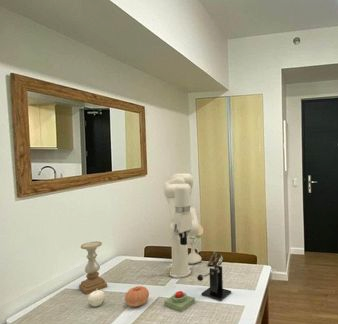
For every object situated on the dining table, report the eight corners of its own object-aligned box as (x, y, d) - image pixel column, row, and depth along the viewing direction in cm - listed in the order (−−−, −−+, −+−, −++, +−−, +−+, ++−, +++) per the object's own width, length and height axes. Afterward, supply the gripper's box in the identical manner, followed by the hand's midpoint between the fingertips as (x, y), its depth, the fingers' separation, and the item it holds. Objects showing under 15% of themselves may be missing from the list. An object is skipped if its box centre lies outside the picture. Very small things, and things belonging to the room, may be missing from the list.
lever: (197, 282, 144) (195, 276, 145) (201, 280, 147) (199, 274, 148) (217, 274, 137) (214, 268, 138) (221, 272, 140) (218, 266, 141)
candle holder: (78, 287, 150) (76, 244, 149) (100, 280, 158) (98, 239, 157) (85, 294, 143) (83, 249, 142) (107, 286, 151) (105, 243, 150)
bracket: (201, 295, 139) (201, 268, 139) (212, 287, 147) (212, 262, 147) (220, 301, 133) (220, 273, 133) (231, 293, 141) (230, 266, 140)
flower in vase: (187, 266, 175) (186, 227, 175) (182, 260, 185) (181, 223, 185) (206, 262, 181) (205, 225, 181) (201, 256, 191) (200, 221, 191)
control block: (164, 305, 131) (164, 297, 131) (178, 296, 138) (177, 289, 138) (181, 311, 125) (181, 303, 125) (194, 302, 133) (194, 294, 132)
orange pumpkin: (131, 298, 138) (130, 282, 138) (152, 298, 138) (152, 282, 137) (121, 310, 127) (120, 293, 127) (144, 310, 127) (143, 293, 127)
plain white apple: (93, 310, 128) (93, 293, 128) (85, 306, 132) (84, 289, 131) (108, 303, 134) (107, 287, 134) (99, 299, 138) (99, 283, 137)
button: (173, 297, 131) (173, 293, 131) (179, 293, 134) (179, 290, 134) (179, 299, 129) (179, 295, 129) (184, 295, 132) (184, 292, 132)
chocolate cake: (217, 268, 172) (224, 251, 179) (207, 265, 173) (214, 247, 180) (218, 273, 179) (225, 256, 186) (208, 270, 180) (215, 253, 188)
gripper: (187, 206, 150) (188, 239, 151) (166, 211, 137) (167, 247, 138) (197, 207, 146) (198, 241, 147) (177, 212, 133) (178, 250, 134)
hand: (183, 244), depth 142 cm, fingers closed
